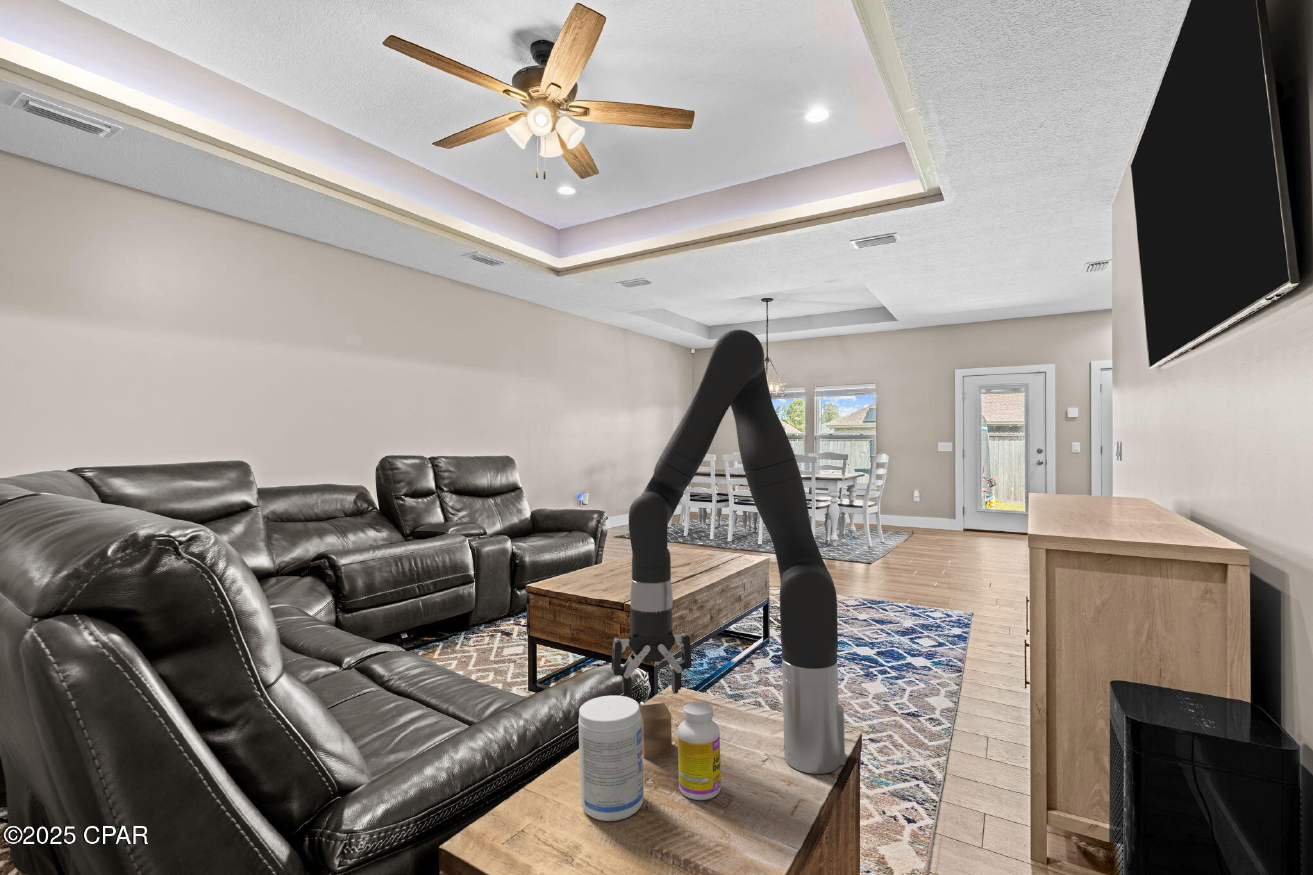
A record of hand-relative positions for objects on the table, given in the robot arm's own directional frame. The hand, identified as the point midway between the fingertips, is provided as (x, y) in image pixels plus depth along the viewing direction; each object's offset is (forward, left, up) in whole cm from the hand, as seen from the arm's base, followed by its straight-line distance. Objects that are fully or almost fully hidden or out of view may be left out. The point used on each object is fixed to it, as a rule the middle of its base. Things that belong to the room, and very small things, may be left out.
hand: (651, 694), depth 107 cm
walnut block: (0, 0, -10) cm, 10 cm away
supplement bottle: (-4, +14, -10) cm, 18 cm away
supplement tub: (+10, +14, -10) cm, 20 cm away
